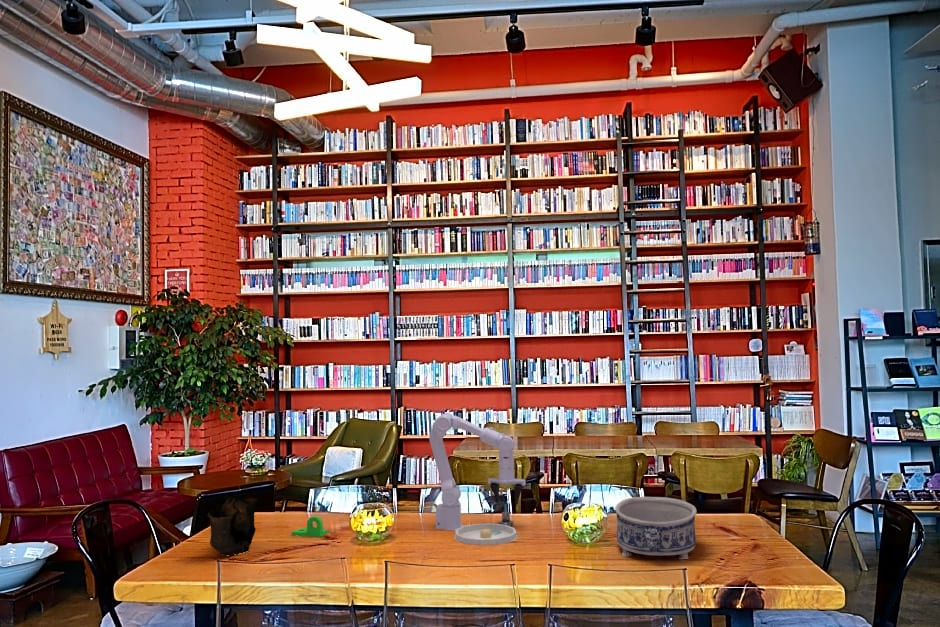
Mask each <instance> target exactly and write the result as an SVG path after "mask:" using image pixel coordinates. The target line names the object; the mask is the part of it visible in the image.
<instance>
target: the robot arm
mask: <svg viewBox="0 0 940 627" xmlns="http://www.w3.org/2000/svg"><path fill="white" fill-rule="evenodd" d="M449 430H452V431H454V430H462V431H464V432H465V431H466V432H468V433H470V434H473V435H475V436H477V437H479V439H480V441H481V442H482V443H484V444H487V445H489V446H491V447H494V448H497V449H498V450H499V454H498V477H489V478H487V484H488V485H489V487H490V489H491V492H492V493H493V496H494V500H495V504H499V503H500V485H511V486H512V485H515V486H513V488H514V504H515V505H518V504H519V501H520V497H521V493H522V491H523V488H524V486H526V484H527V482H526V481H527V480H526V479H522V478H515V467H514V466H515V465H514V464H515V460H514V457H515V456H514V450H513V449H514V443H515V442H514V439H513V437H511V436H510V435H508V434H505V433H504V432H502V433H501V432H498V431H496V430H494V427H492V426H490V427H484V428H482V427H479V426H478V425H476V424H474V423H472V422H470V421H468V420H466V419H464V418H462V417H459V416H457V415H453V414H451V413H448V412H444V413H443V414H441V415H439V416H437V418H436V419H435V421H433V423H432V427H431V431H430V434H429V438H428V439H429V443H430V446H431V450H432V454H433V458H434V462H435V465H436V468H437V469H436V470H437V473H438V476H439V479H440V483H441V492H442V493H441V501H442V503H439V504H438V505H436V508H435V528H434V529H439V530H446V531H447V530H448V531H455V530H457V529H459V528H461V527H463V526H466V525H465V524H462V507H461V506H462V503H461V502H460V500H459V499H460V498H461V494H462V493H461V490H460V488H459V487H458V486H457V482H456V481H455V478H454V476H453V473H452V469H451V465H450V461H449V458H448V456H447V451H446V447H445V444H444V440H443V439H444V438H445V436H446V434H447V432H448V431H449Z"/></svg>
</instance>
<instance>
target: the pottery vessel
mask: <svg viewBox="0 0 940 627" xmlns="http://www.w3.org/2000/svg"><path fill="white" fill-rule="evenodd" d="M258 501H259V498H255V497H249V498H243V499H242V498H240V497H238V496H237V497H233V496H229V497H228V498H227V499H226V501H225V502H224V504H223V505H222V507H218V508H213V509H211V510H209V511H208V513H207V517H209V523H210V539H209V542H210V543H209V544H210V547H211V548H213V549H214V550H216V551H217V552H218V553H221V554H223V555H232V554H239V553H243V552H246V551H248V552H249V548H250V546H251V545H252V542H253V541H252V540H253V539H254V536H255V533H256V530H257V529H256V526H255V512H256V510H257V505H258ZM232 556H233V555H232Z"/></svg>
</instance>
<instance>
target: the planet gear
mask: <svg viewBox="0 0 940 627" xmlns="http://www.w3.org/2000/svg"><path fill="white" fill-rule="evenodd" d="M510 515H511V514H510V511H502V512H501V520H499V521H498V523H497V524H502V525H507V526H510V527H513V528H515V527H514V526H515V525H514V524H515V523H514V520H511V516H510Z"/></svg>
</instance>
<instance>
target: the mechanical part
mask: <svg viewBox="0 0 940 627" xmlns="http://www.w3.org/2000/svg"><path fill="white" fill-rule="evenodd" d="M314 523H315V524H316V527H315V526H314ZM327 533H328V534H329V529H324V524H323V519H322V518H321V517H320V516H318V515H314V516H311V517H309V518H308V519H307V522H306V527H305V528H298V529H295V530H293V531H291V536H292V535H298V536H297V537H303V536H314V537H313V538H322V537H324V536H326V535H328V534H327ZM325 534H326V535H325ZM323 535H324V536H323ZM321 536H322V537H321Z"/></svg>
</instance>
